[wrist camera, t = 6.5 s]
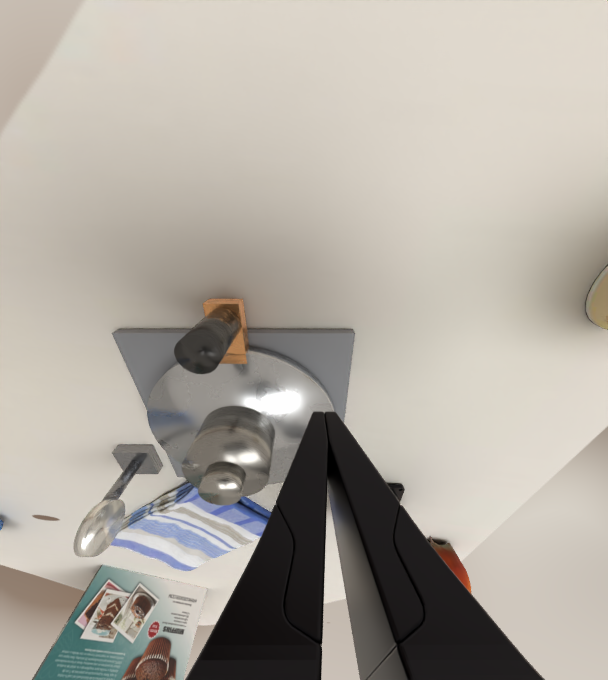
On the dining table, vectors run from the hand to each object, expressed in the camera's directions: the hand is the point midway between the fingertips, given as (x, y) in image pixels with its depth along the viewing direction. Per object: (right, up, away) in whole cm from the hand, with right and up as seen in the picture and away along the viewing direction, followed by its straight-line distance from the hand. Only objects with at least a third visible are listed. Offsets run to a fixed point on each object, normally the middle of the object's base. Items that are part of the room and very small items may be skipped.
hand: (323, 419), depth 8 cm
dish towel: (-18, -26, +27) cm, 41 cm away
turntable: (-7, -4, +13) cm, 15 cm away
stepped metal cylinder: (-7, -6, +13) cm, 16 cm away
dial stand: (-21, -11, +18) cm, 30 cm away
